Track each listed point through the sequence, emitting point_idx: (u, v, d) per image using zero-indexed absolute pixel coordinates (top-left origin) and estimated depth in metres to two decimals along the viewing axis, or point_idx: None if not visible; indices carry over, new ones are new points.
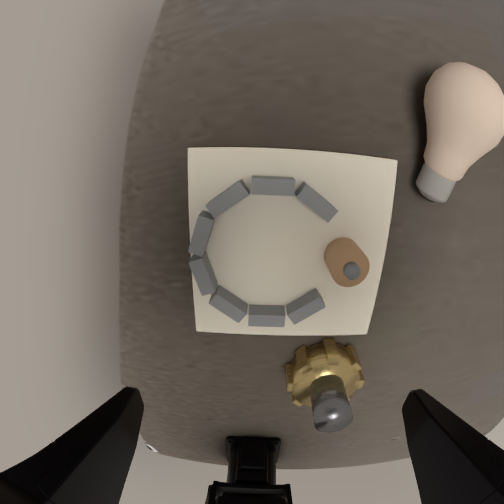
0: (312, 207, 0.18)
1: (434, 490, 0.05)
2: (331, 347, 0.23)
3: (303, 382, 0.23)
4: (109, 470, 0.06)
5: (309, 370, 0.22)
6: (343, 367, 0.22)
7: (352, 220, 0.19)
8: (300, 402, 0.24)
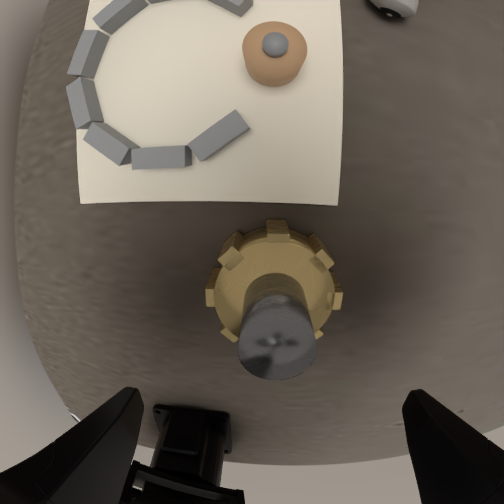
0: None
1: (434, 490, 0.05)
2: (277, 225, 0.14)
3: (231, 287, 0.14)
4: (109, 470, 0.06)
5: (237, 260, 0.14)
6: (299, 257, 0.14)
7: (283, 19, 0.11)
8: (234, 333, 0.15)
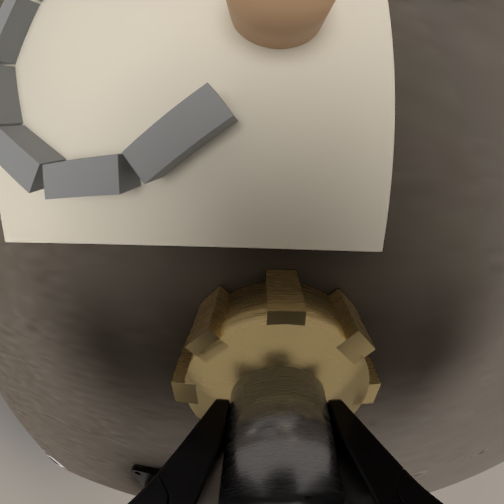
0: None
1: None
2: (284, 286, 0.09)
3: (210, 383, 0.08)
4: (213, 491, 0.06)
5: (218, 349, 0.08)
6: (320, 345, 0.08)
7: None
8: None
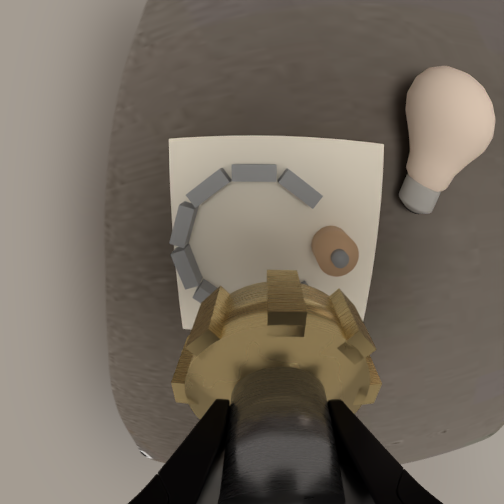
0: (295, 193, 0.17)
1: None
2: (285, 286, 0.09)
3: (210, 384, 0.08)
4: (213, 491, 0.06)
5: (218, 349, 0.08)
6: (321, 345, 0.08)
7: (339, 207, 0.19)
8: None
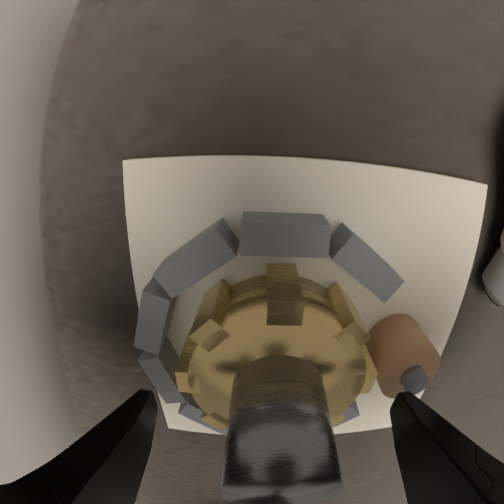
0: (360, 277, 0.09)
1: (421, 495, 0.05)
2: (283, 278, 0.09)
3: (212, 372, 0.09)
4: (125, 475, 0.06)
5: (220, 338, 0.08)
6: (318, 334, 0.08)
7: (416, 286, 0.10)
8: (220, 421, 0.10)
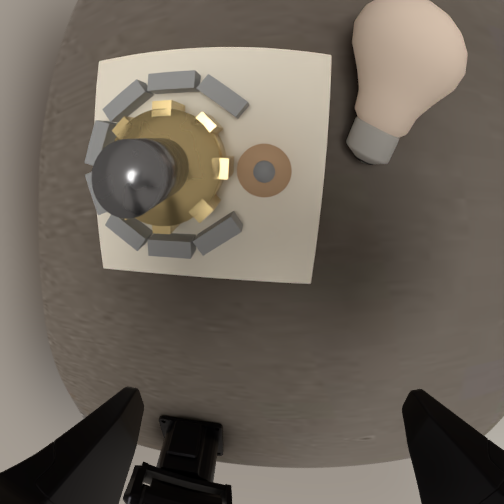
0: (215, 99, 0.13)
1: (434, 490, 0.05)
2: None
3: None
4: (109, 470, 0.06)
5: (127, 128, 0.13)
6: (181, 121, 0.13)
7: (275, 122, 0.15)
8: None
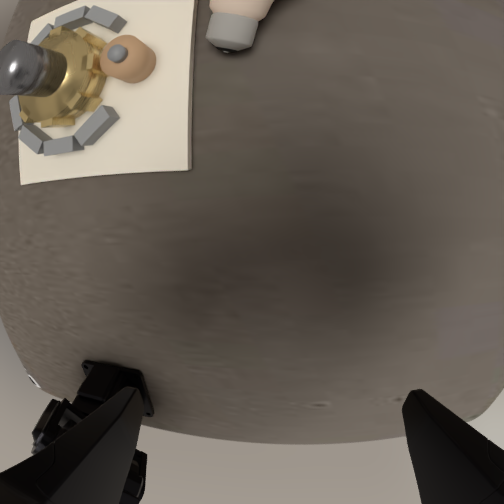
0: (96, 20, 0.12)
1: (434, 490, 0.05)
2: None
3: None
4: (109, 470, 0.06)
5: None
6: (65, 37, 0.11)
7: (146, 28, 0.13)
8: (26, 113, 0.13)
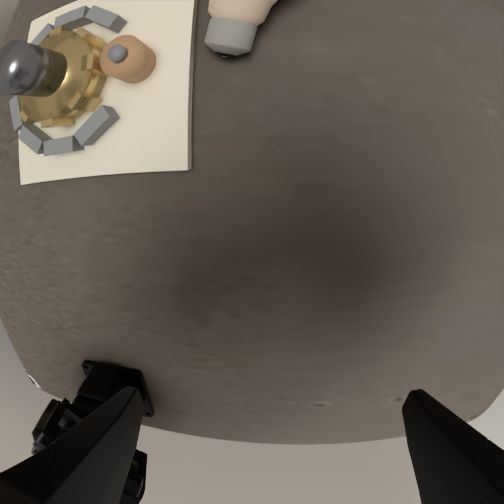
0: (96, 20, 0.12)
1: (434, 490, 0.05)
2: None
3: None
4: (109, 470, 0.06)
5: None
6: (65, 37, 0.11)
7: (146, 28, 0.13)
8: (26, 113, 0.13)
